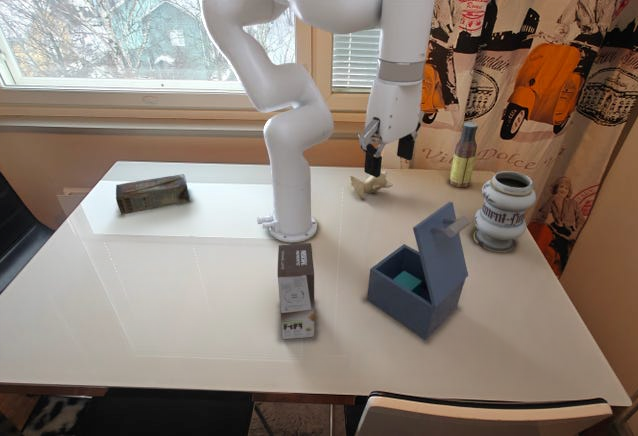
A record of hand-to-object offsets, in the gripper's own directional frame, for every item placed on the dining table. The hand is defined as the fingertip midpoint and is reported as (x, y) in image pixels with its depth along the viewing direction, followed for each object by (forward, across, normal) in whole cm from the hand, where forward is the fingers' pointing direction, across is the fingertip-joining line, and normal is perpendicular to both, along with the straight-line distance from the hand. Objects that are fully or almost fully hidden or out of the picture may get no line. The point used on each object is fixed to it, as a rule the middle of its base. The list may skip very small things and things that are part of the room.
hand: (388, 165), depth 72 cm
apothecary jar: (+28, -33, +12) cm, 45 cm away
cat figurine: (+28, -27, -24) cm, 47 cm away
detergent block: (+27, +1, +8) cm, 29 cm away
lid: (+12, +1, +14) cm, 18 cm away
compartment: (+28, +1, +10) cm, 30 cm away
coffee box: (+28, +21, -3) cm, 35 cm away
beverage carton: (+29, +21, -65) cm, 74 cm away
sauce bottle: (+28, -53, -9) cm, 61 cm away
